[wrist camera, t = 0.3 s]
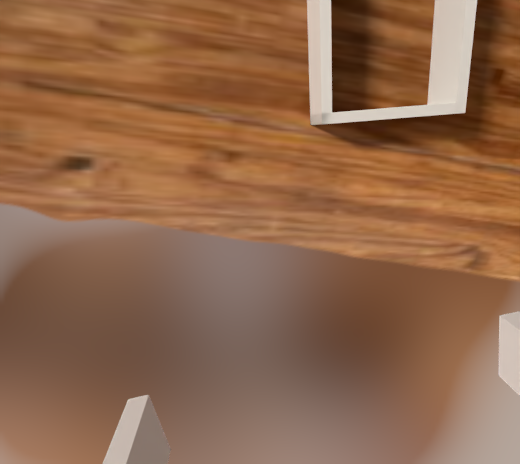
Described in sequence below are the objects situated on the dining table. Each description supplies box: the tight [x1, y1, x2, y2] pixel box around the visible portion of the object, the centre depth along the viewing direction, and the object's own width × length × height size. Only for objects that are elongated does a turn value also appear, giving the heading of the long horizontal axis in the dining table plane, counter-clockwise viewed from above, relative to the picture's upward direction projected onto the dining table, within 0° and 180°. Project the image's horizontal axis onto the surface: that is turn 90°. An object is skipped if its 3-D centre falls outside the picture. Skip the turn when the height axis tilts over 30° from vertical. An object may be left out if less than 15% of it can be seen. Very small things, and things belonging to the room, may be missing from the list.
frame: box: [307, 0, 477, 125], centre depth 32 cm, size 14×14×5 cm
